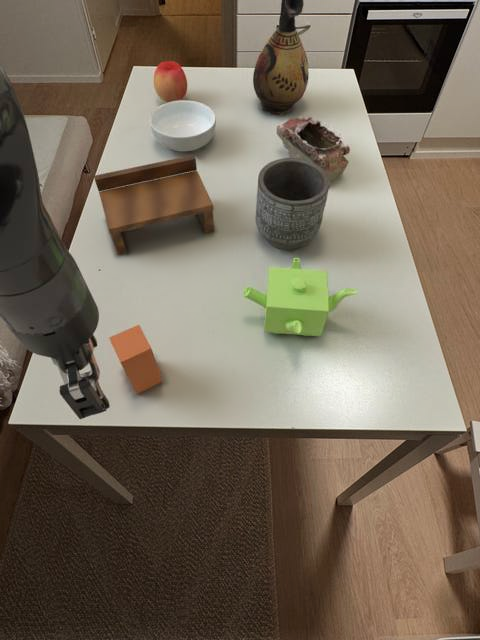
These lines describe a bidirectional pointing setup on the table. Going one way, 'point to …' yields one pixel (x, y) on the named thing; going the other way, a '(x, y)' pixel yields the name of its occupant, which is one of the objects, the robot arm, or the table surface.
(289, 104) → the ceramic jug
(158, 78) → the apple
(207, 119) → the cereal bowl
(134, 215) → the shelf
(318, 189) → the planter
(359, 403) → the table surface
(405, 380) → the table surface
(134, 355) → the carton
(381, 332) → the table surface
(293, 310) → the kettle
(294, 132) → the decorative box
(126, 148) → the table surface
